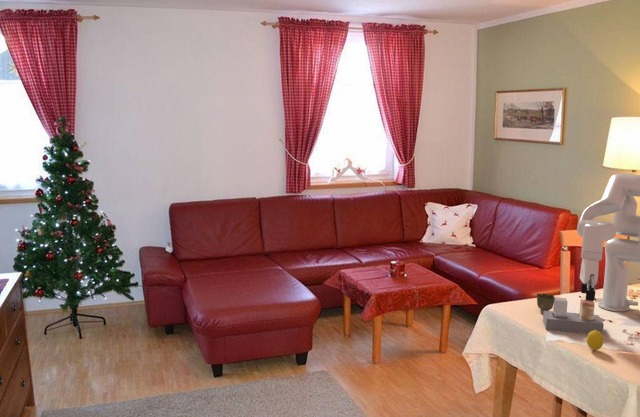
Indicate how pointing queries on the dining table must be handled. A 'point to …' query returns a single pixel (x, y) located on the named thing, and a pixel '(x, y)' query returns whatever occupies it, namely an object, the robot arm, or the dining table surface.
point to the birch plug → (586, 310)
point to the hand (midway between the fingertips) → (587, 296)
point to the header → (572, 323)
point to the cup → (545, 301)
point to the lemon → (595, 340)
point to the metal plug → (560, 307)
